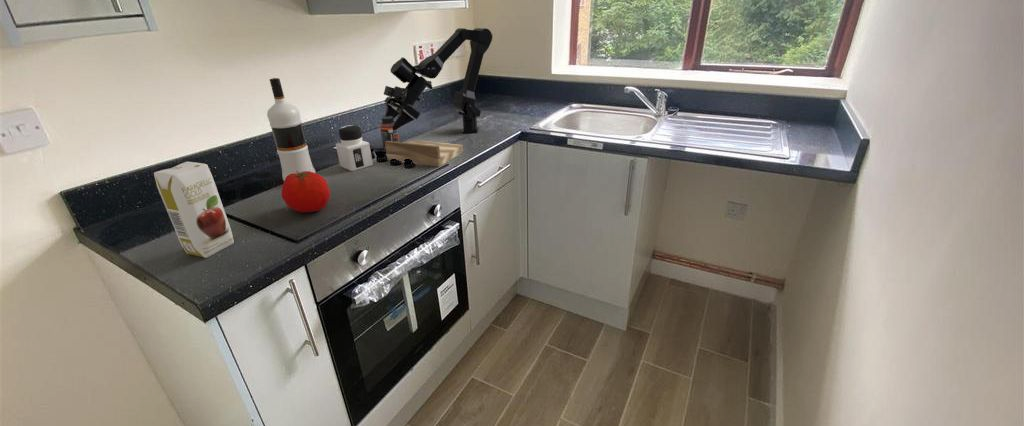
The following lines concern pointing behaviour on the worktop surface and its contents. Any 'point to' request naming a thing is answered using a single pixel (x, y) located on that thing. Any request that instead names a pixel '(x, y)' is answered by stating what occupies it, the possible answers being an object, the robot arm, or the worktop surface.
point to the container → (353, 149)
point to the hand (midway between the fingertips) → (388, 126)
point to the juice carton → (195, 208)
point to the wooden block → (423, 152)
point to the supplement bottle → (388, 130)
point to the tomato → (305, 191)
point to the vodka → (288, 134)
